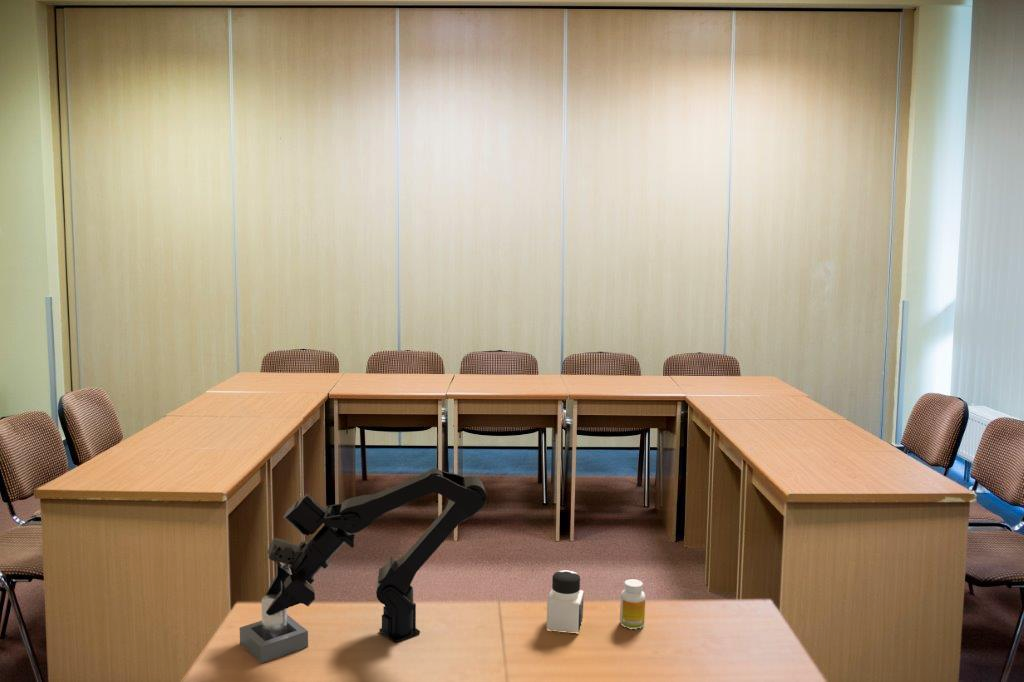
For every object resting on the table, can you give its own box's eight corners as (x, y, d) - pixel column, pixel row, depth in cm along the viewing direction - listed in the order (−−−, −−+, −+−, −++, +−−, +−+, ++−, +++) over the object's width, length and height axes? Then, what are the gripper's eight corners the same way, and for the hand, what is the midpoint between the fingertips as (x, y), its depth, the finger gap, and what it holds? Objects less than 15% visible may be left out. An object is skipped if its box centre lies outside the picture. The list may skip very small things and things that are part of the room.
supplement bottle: (648, 629, 181) (650, 587, 180) (624, 631, 180) (626, 589, 179) (638, 617, 187) (640, 576, 185) (616, 619, 185) (617, 578, 184)
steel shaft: (280, 637, 175) (280, 591, 174) (291, 645, 171) (291, 599, 170) (258, 644, 172) (257, 597, 171) (268, 653, 168) (268, 605, 167)
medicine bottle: (579, 635, 178) (580, 582, 176) (546, 631, 179) (547, 578, 178) (582, 620, 185) (584, 568, 183) (551, 616, 186) (552, 565, 185)
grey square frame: (285, 628, 178) (285, 613, 178) (308, 646, 171) (307, 630, 170) (239, 643, 172) (239, 627, 171) (261, 663, 164) (260, 646, 164)
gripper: (286, 511, 178) (233, 566, 175) (296, 542, 161) (238, 604, 158) (324, 541, 182) (273, 596, 179) (338, 575, 165) (282, 636, 162)
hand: (266, 607), depth 170 cm, fingers open, 6 cm apart
